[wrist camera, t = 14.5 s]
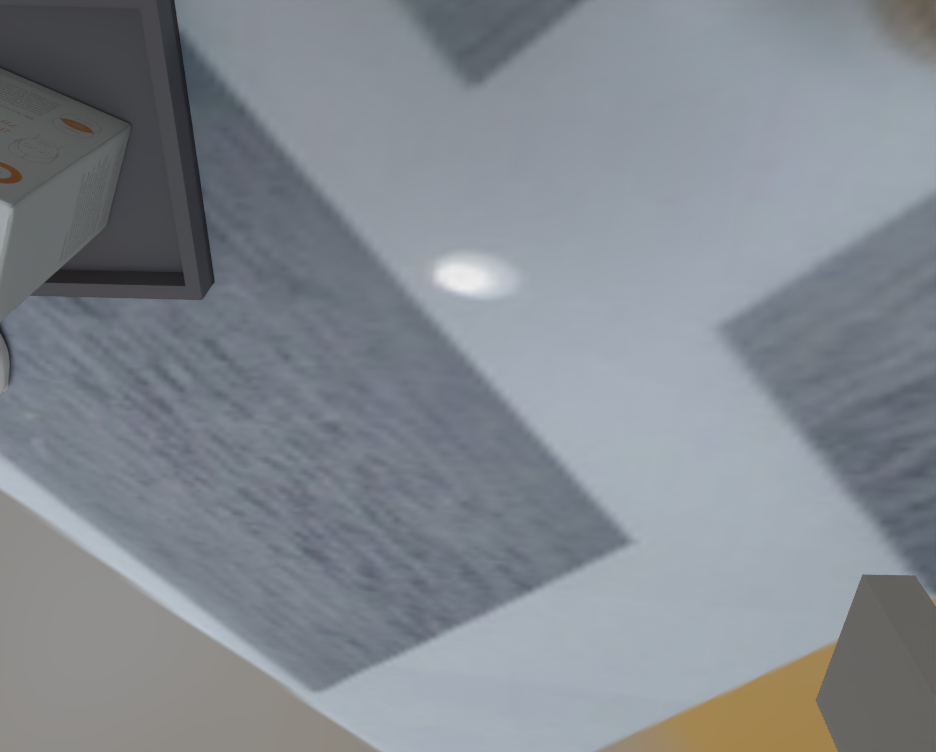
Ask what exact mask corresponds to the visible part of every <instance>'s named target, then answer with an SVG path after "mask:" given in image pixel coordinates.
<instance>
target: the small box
mask: <svg viewBox="0 0 936 752" xmlns="http://www.w3.org/2000/svg"><path fill="white" fill-rule="evenodd" d="M130 131H131V125H130V124H129V123H127V122H124V121H122V120H120V119H117V118H115V117H113V116H111V115H108V114H106V113H104V112H101V111H99V110H97V109H95V108H92V107H90V106H88V105H85V104H83V103H81V102H78V101H76V100H74V99H71V98H69V97H67V96H64V95H62V94H60V93H58V92H55V91H53V90H51V89H48V88H46V87H44V86H41V85H39V84H37V83H35V82H32V81H30V80H27V79H25V78H23V77H20V76H18V75H16V74H13V73H11V72H9V71H6V70H4V69H2V68H0V322H1V321H2V320H3V319H4V318H5V317H6V316H8V315H9V314H10V313H11V312H12V311H13V310H14V309H15V308H16V307H18V306H19V305H20V304H21V303H22V302H23V301H24V300H25V299H27V298H28V297H29V296H30V295H31V294H32V293H33V292H34V291H35V290H36V289H38V288H39V287H40V286H41V285H42V284H43V283H44V282H45V281H46V280H48V279H49V278H50V277H51V276H52V275H53V274H54V273H55V272H56V271H58V270H59V269H60V268H61V267H62V266H63V265H64V264H65V263H67V262H68V261H69V260H70V259H71V258H72V257H73V256H74V255H76V254H77V253H78V252H79V251H80V250H81V249H82V248H83V247H84V246H85V245H86V244H88V243H89V242H90V241H91V240H92V239H93V238H94V237H95V236H96V235H97V234H99V233H100V232H101V231H102V230H103V229H104V228H105V227H106V226H107V223H108V218H109V214H110V210H111V206H112V202H113V198H114V194H115V190H116V186H117V182H118V178H119V174H120V170H121V166H122V162H123V158H124V154H125V150H126V146H127V142H128V138H129V135H130Z"/></svg>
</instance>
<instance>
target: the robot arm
mask: <svg viewBox="0 0 936 752" xmlns="http://www.w3.org/2000/svg"><path fill="white" fill-rule="evenodd" d="M816 702H817V705H818V707H819V709H820V711H821V714H822V716H823V718H824V720H825V723H826V725H827V727H828V730H829V732H830V734H831V736H832V738H833V741H834V743H835V745H836V748H837V750H838V752H936V606H935V605H934V603H933V602H932V600H931V599H930V597H929V596H928V594H927V593H926V591H925V590H924V588H923V587H922V585H921V584H920V582H919V581H918V579H917V578H916V576H906V575H862V577H861V580H860V583H859V585H858V588H857V591H856V594H855V596H854V599H853V602H852V604H851V607H850V610H849V612H848V615H847V618H846V620H845V623H844V626H843V628H842V631H841V634H840V637H839V639H838V642H837V645H836V647H835V650H834V653H833V655H832V658H831V661H830V663H829V666H828V669H827V672H826V674H825V677H824V680H823V682H822V685H821V688H820V691H819V693H818V696H817V698H816Z"/></svg>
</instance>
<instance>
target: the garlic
mask: <svg viewBox="0 0 936 752" xmlns="http://www.w3.org/2000/svg"><path fill="white" fill-rule="evenodd" d="M9 368H10V360H9V354H8V350H7V347H6V344H5V342H4V340H3V338H2V336H1V334H0V395H1V394H2V392H3V391H6V390H7V388H8V380H9Z"/></svg>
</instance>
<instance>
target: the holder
mask: <svg viewBox="0 0 936 752" xmlns="http://www.w3.org/2000/svg"><path fill="white" fill-rule="evenodd" d="M0 68H2V69H4V70H6V71H9V72H11V73H13V74H16V75H18V76H20V77H23V78H25V79H27V80H30V81H32V82H35V83H37V84H39V85H41V86H44V87H46V88H48V89H51V90H53V91H55V92H58V93H60V94H62V95H64V96H67V97H69V98H71V99H74V100H76V101H78V102H81V103H83V104H85V105H88V106H90V107H92V108H95V109H97V110H99V111H101V112H104V113H106V114H108V115H111V116H113V117H115V118H117V119H120V120H122V121H124V122H127V123H129V124H130V125H131V131H130V135H129V138H128V142H127V146H126V150H125V154H124V158H123V162H122V166H121V170H120V174H119V178H118V182H117V186H116V190H115V194H114V198H113V202H112V206H111V210H110V214H109V218H108V223H107V226H106V227H105V228H104V229H103V230H102V231H101V232H100V233H99V234H97V235H96V236H95V237H94V238H93V239H92V240H91V241H90V242H89V243H88V244H86V245H85V246H84V247H83V248H82V249H81V250H80V251H79V252H78V253H77V254H76V255H74V256H73V257H72V258H71V259H70V260H69V261H68V262H67V263H65V264H64V265H63V266H62V267H61V268H60V269H59V270H58V271H56V272H55V273H54V274H53V275H52V276H51V277H50V278H49V279H48V280H46V281H45V282H44V283H43V284H42V285H41V286H40V287H39V288H38V289H36V290H35V291H34V292H33V293H32V294H31V295H30V296H66V297H107V298H147V299H188V300H202V299H203V298H204V296H205V295H206V293H207V292H208V291H209V289H210V288H211V286H212V285H213V283H214V275H213V268H212V261H211V254H210V247H209V240H208V233H207V226H206V219H205V212H204V206H203V199H202V192H201V185H200V178H199V171H198V164H197V157H196V150H195V143H194V136H193V129H192V122H191V115H190V108H189V101H188V94H187V87H186V80H185V73H184V66H183V59H182V52H181V45H180V38H179V31H178V24H177V17H176V10H175V3H174V0H0Z"/></svg>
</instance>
